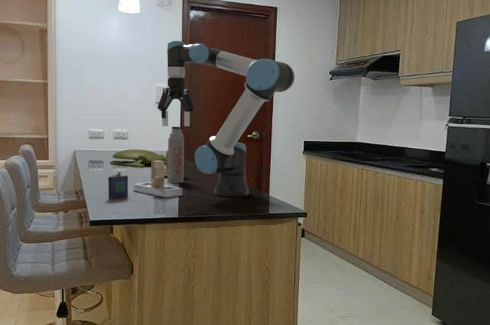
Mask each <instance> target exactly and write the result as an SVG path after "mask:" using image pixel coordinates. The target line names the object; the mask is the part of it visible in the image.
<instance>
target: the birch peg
mask: <svg viewBox="0 0 490 325" xmlns="http://www.w3.org/2000/svg"><path fill="white" fill-rule="evenodd" d="M164 162H165V161H159V160H158V161H151V163H150V164H151V165H150V182H151V187H156V188H157V187H164V185H165V176H164V169H165V164H164Z"/></svg>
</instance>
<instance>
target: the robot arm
mask: <svg viewBox="0 0 490 325" xmlns="http://www.w3.org/2000/svg"><path fill="white" fill-rule="evenodd" d="M166 48H167V50H166V53H167V54H166V55H167V77H168V78H167V87H163V88H162V94H161V96H160V100H159V102H158V105H157V110H158V111H159V112H161V113H160V114H161V122H162V123H161V124H162V127H169V110H168V108H169V107H170V105H171V104H172V102H173V101H174V100H178V101H179V102H180V104H181V105H182V107H183V109H184V113H183V120H184V121H183V126H184V127H190V125H191V124H190V122H191V120H190V119H191V112H193V111H194V109H195V107H194V105H193V102H192V99H191V95H190V90H189V89H184V87H186V79H185V78H186V64H191V63H194V64H200V65H205V66H211V67H214V68H218V69H221V70H225V71H229V72H231V73H235V74H238V75H241V76H245V80H246V81H245V82H244V87H245V89H244V91H243V93H242V94H241V96H240V98H239V99H238V100H237V103H236V104H235V106H234V107H233V108H232V110H231V111H230V113H229V115H228V116H227V118H226V120H225V121H224V123H223V124H222V126H221V127H220V129H219V131H218V132H217V134H216V135H212V136H210V138H209V139H208V140H207V142H206V144H204V145H201V146H199V147H198V148H197V149H196V151H195V153H194V160H195V165H196V167H197V169H198V170H199V171H200V172H202V173H203V174H205V175H206V174H210V175H212V174H217V173H218V179H217V181H216V185H215V187H214V195H218V196H222V197H245V196H248V195H249V187H248V184H247V179H246V165H247V164H246V161H247V160H246V159H247V147H246V144H245V143H242V142H238V141H239V140H240V138H241V137H242V135H243V134H244V132H245V131H246V129H247V128H248V126H249V124H251V122H252V120H253V119H254V117H255V116H256V114H257V113H258V112H259V110H260V108H261V107H262V105H263V104H264V103H265V102H269V101H270V100H271V99H272V97H273V96H274V95H275V93H282V92H285V91H288V90H289V89H290V88H291V87H292V86H293V84H294V83H295V73H294V70H293V68H292V67H291V66H290V65H289V64H288V63H286V62H283V61H276V60H273V59H270V58H258V59H253V58H250V57H246V56H243V55H238V54H235V53H231V52H227V51H224V50H221V49H219V48H212V47H208V46H206V44H204V43H192V44H185V42H184V41H181V40H171V41H169V42H167V47H166Z"/></svg>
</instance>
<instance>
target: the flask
mask: <svg viewBox="0 0 490 325" xmlns="http://www.w3.org/2000/svg"><path fill="white" fill-rule="evenodd" d="M121 173H122V172H121V171H117V173H116V174H114V175H113V174H112V175H109V176H108V178H107V179H108V181H107V182H108V184H107V185H108V200H116V199H121V198H122V199H123V198H127V196H128V195H129V190H128V189H129V188H128V187H129V175H128V174H121ZM128 197H129V196H128Z"/></svg>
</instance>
